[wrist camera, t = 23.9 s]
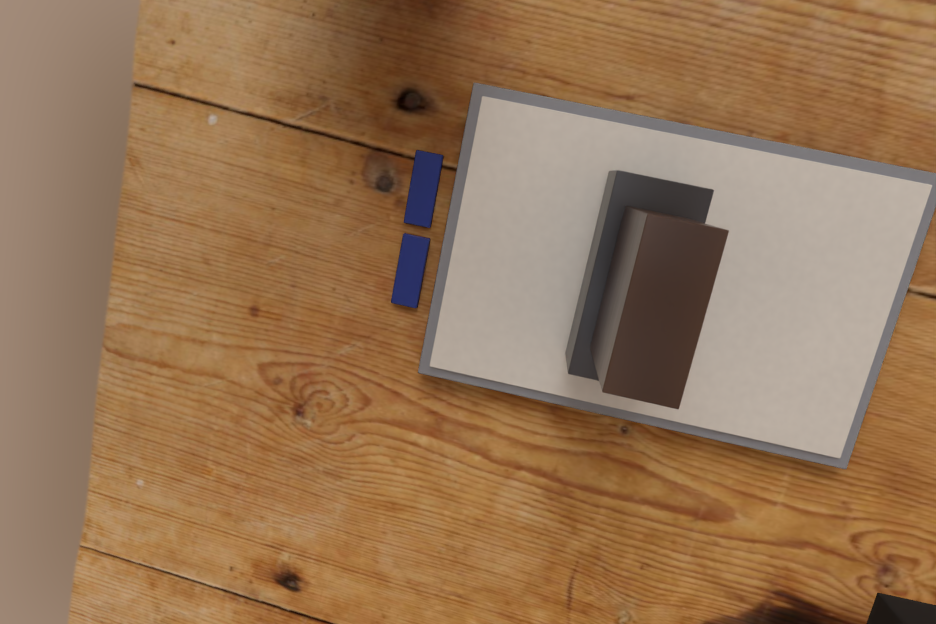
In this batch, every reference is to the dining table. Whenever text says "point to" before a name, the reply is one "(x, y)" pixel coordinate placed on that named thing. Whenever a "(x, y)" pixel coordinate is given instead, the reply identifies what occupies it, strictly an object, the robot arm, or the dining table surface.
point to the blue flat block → (423, 188)
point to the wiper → (645, 288)
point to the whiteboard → (736, 285)
